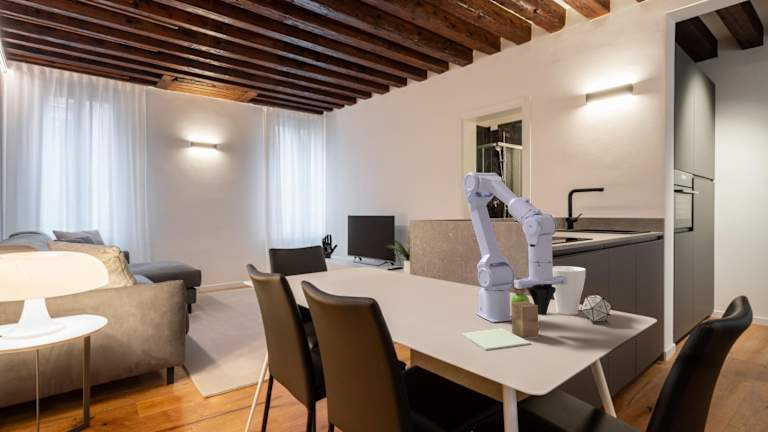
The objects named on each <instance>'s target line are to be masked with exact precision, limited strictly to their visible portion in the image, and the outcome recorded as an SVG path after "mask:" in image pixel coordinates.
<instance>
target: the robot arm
mask: <svg viewBox="0 0 768 432" xmlns="http://www.w3.org/2000/svg"><path fill="white" fill-rule="evenodd" d="M462 188H463V192H464V195H465V199H466V204H467V208H468V211H469V215H470V219H471V223H472V226H473V229H474V232H475V233H474V234H475V237H476V240H477V244H478V247H479V251H480V255H481V259H480V260H479V262H478V263H477V265H476V268H477V279H478V283H479V285H480V286H481V289H480V290H479V292H478V309H479V310H478V311H479V312H476V315H477V316H479V317H481V318H483V319H485V320H487V321H489V322H491V323H500V322H508V321H511V322H512V315H511V294H510V291H511V290H510V289H511V288H512V284H513V283H514V287H515V288H518V289H522V288H526V287H527V290H528V291H527V292H528V293H529V295H530V296H531V298H532V301H533V304H535V305H538V315H540V316H547V313H548V310H549V305H550V302H551V300H552V298H553V297H554V293H555V291H556V288H555V287H552V285H559V284H563V285H566V284H567V277H564V276H553V266H554V263H553V236H554V235H555V234H556V232H557V228H558V224H557V221H556V219H555V217H553V215H552V214H550V213H544V212H542V210H541V209H540V208H537V207H535V206H534V205H533V203H531V202H530V201H531V200H530V199H529V198H528V197H522V196H520V197H518V196H517V195H516V194H515V193H514V192H513V191H512V190H511V189H510V188H509V187H508V186H507V185H506V184H505V183H504V182H503V178H502V177H501V176H499V175H498V174H497V173H496V172H474V171H469V172H468V173H467V174H466V175H465V178H464V180H463V182H462ZM494 197H496V198H497V199H499V200H500V201H501V202H502V203H503V204H505V205H506V206H507V209H508V210H507V211H508V213H509V214H510V215H511V217H513V218H514V219H515V220H516V221H517V222H518V223H519V224H520V225H521V226H522V231H523V233H524V235H525V241H526V243H527V248H528V276H529V278H527V277H525V278H523V279H519V280H515V279H516V272H515V270H514V268H513V266H512V265H511V263H510V261H509V259H508V258H507V257H506V256H504V255H503V254H502V253H501V251H500V248H499V244H498V241H497V237H496V234H495V231H494V227H493V223H492V221H491V218H490V215H489V211H488V207H487V205H488V203H489V202H490V201H492V199H493V198H494Z"/></svg>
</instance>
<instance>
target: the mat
mask: <svg viewBox="0 0 768 432" xmlns="http://www.w3.org/2000/svg"><path fill="white" fill-rule="evenodd" d="M460 334H461V336H463V337H465V338H466V339H467V340H469V341H470V342H472V343H473V344H475V346H478V347H479V348H481V349H483V350H484V351H490V350H491V351H493V350H497V349H498V350H499V349H500V350H501V349H505V348H506V349H507V348H512V347H521V346H527V345H531V344H532V343H531V342H530V341H528V340H527V339H522V338H520V337H518V336H516V335H515V334H513V333H512V332H511V331H509V330H507V329H504V328H502V327H501V328H493V329H485V330H477V331H470V332H469V331H468V332H461V333H460Z"/></svg>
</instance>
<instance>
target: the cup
mask: <svg viewBox="0 0 768 432" xmlns="http://www.w3.org/2000/svg"><path fill="white" fill-rule="evenodd" d="M586 270H587V269H586V268H584V267H579V266H570V265H555V266H554V265H553V276H564V277H567V284H566V285H563V284H559V285H552V287H555V288H556V291H555V293H554V294H553V297H554V298H553V299H554V303H555V309H556V312H557V313H558V314H561V315H566V316H567V315H568V316H576V315H578V314H579V312H578V310H580V303H581V297H582V293H583V290H584V285H585V281H586V272H587V271H586Z"/></svg>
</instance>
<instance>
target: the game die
mask: <svg viewBox="0 0 768 432" xmlns="http://www.w3.org/2000/svg"><path fill="white" fill-rule="evenodd" d="M583 296H584V300H582V301H581V303H582V305H581V307H580V309H579V310H578V312H581V313H582V314H583V315H584V316H586V319H587V320H591V321H592V325H595V324H596V322H601V321H602V322H603V321H605V322H606V323H609V321H608V320H607V319H608V317H611V316H612V315H611V314H610V313H611V309H612V307H615V305H614V304H611V303H609V302H608V300H606V296H600V293H599V292H597V293H596V295H594V294H593V295H587V294H585V293H584V294H583Z"/></svg>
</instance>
